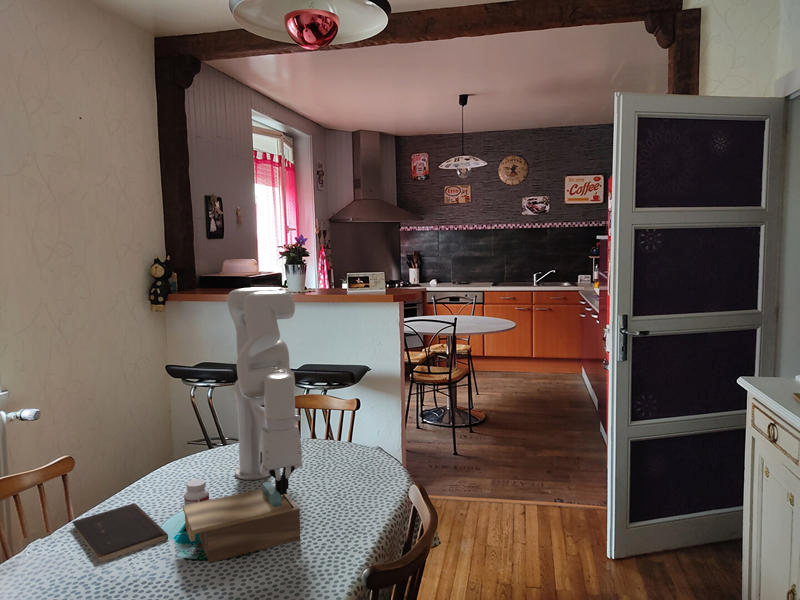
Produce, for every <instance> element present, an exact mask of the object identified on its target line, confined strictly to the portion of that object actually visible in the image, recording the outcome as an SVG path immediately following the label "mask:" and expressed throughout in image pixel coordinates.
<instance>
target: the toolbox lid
mask: <svg viewBox="0 0 800 600" xmlns="http://www.w3.org/2000/svg"><path fill="white" fill-rule="evenodd" d="M261 487H262V488H260V489H256V490H251V491H247V492H246V491H245V492H241V493H236V494H232V495H227V496H222V497H218V498H212V499H209V500H207V501H202V502H197V503H193V504H188V505H182V511H183V513H184V526H185V529H186V530H185V531H186V532H187V536H188V539H189V540H190V541H189V542H195V541H196V534H199V533H200V532H205V531H209V530H213V529H217V528H222V527H226V526H230V525H235V524H239V523H243V522H247V521H252V520H256V519H260V518H264V517H269V516H273V515H277V514H282V513H286V512H290V511H292V507H291V505H290V504H289V503H288V502H287V500H286V499H285V498H284V497H283V495H280V494H279V493H278V491H277V490H276V489H275V486H274V485H273V483H272V481H264V482H262V483H261Z"/></svg>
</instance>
